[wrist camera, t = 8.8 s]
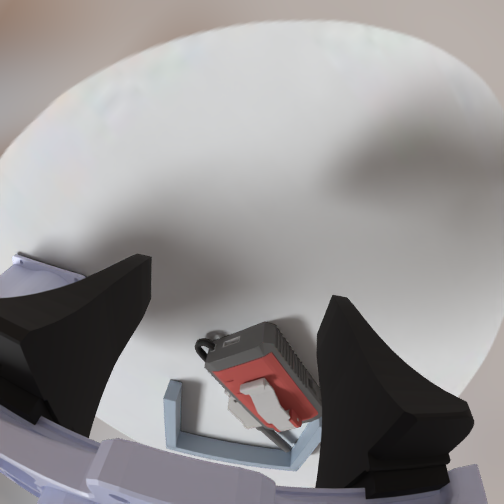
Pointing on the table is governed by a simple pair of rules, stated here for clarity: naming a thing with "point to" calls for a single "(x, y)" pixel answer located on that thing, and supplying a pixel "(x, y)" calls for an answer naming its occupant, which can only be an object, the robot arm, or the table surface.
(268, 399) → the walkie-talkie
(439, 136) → the table surface
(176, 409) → the grey pronged cradle
